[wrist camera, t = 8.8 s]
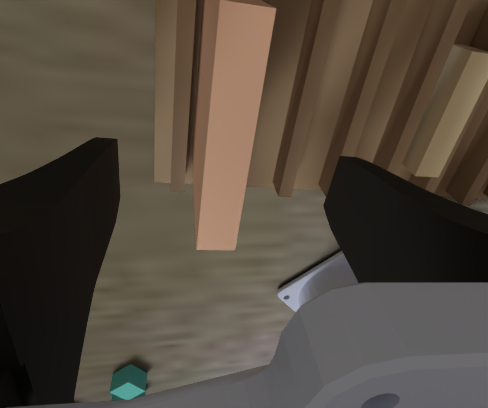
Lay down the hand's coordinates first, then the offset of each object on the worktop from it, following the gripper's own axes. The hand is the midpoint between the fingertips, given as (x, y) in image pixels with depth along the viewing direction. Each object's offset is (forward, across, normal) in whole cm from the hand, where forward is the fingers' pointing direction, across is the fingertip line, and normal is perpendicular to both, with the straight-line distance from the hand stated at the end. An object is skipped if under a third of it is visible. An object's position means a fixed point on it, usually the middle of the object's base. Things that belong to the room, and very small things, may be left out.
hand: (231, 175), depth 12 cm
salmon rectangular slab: (+10, 0, 0) cm, 10 cm away
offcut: (+10, -13, 0) cm, 16 cm away
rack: (+10, -10, 0) cm, 14 cm away
